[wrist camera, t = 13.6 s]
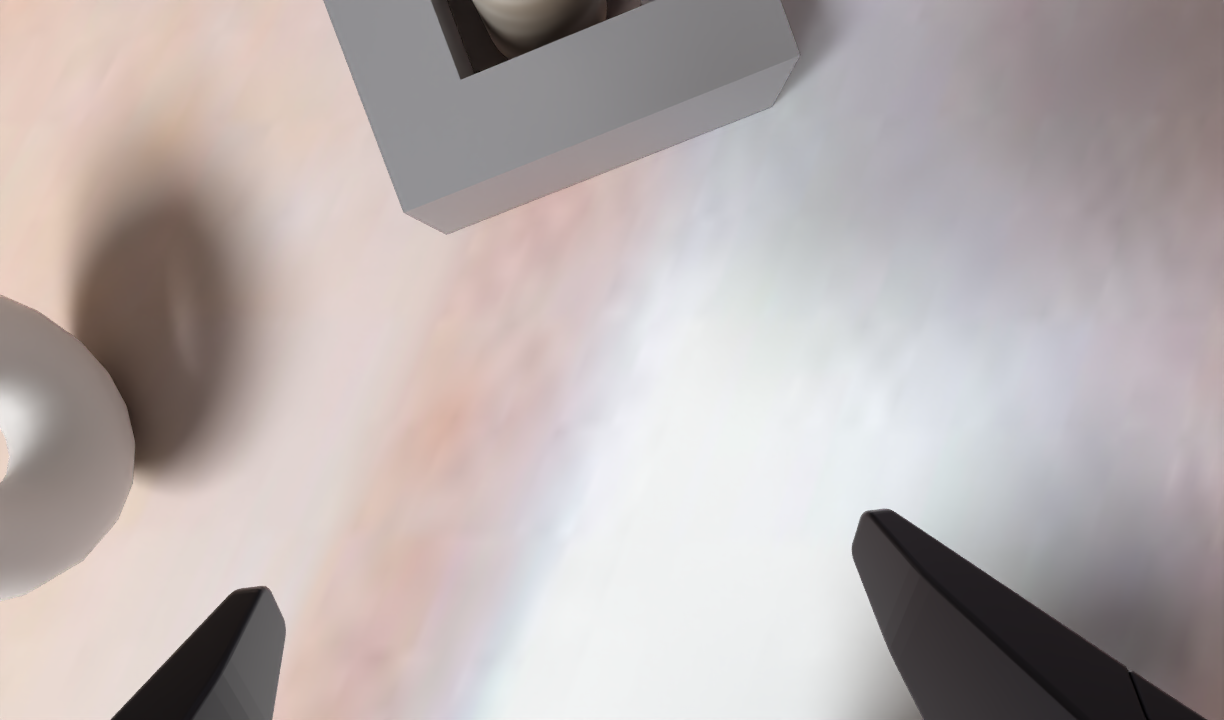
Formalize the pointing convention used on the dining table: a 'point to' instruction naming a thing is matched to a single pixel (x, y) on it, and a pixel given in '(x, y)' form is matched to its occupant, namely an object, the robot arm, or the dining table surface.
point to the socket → (551, 96)
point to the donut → (56, 450)
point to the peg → (536, 21)
